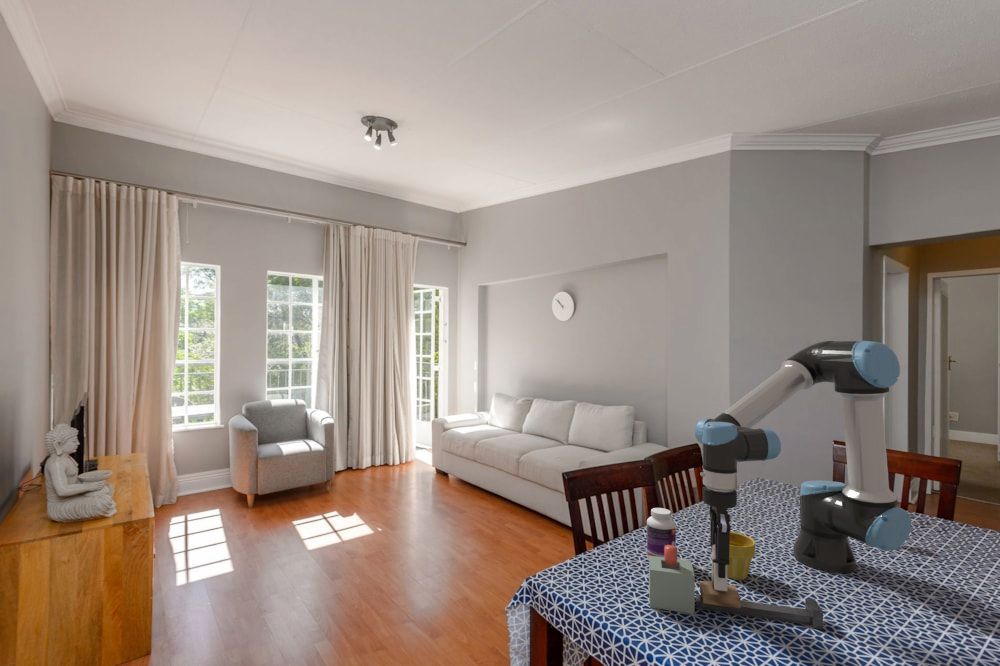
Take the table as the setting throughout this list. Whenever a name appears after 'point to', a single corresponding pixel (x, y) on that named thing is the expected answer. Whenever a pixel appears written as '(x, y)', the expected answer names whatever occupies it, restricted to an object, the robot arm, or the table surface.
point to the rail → (772, 611)
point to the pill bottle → (660, 532)
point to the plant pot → (740, 555)
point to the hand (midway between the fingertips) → (719, 585)
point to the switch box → (671, 585)
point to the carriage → (719, 591)
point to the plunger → (670, 555)
